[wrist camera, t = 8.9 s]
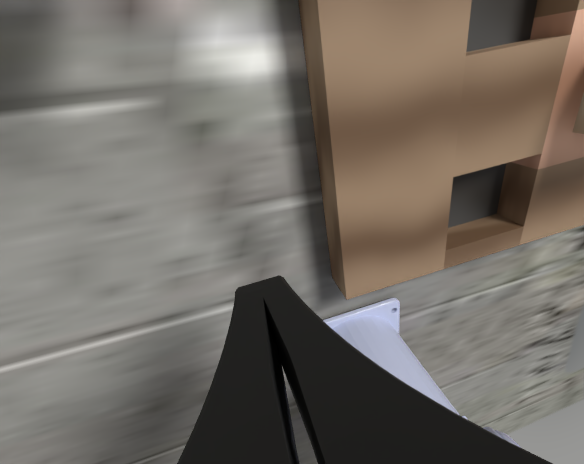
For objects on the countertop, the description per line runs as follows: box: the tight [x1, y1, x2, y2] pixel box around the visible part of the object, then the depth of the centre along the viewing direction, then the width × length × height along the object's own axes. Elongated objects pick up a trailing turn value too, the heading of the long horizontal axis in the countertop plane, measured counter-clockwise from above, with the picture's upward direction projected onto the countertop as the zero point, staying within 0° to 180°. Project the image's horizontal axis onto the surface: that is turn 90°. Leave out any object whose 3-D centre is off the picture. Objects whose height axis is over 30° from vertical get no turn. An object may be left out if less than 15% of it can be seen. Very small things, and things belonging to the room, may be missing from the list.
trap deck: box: [298, 0, 584, 300], centre depth 17 cm, size 19×22×2 cm
